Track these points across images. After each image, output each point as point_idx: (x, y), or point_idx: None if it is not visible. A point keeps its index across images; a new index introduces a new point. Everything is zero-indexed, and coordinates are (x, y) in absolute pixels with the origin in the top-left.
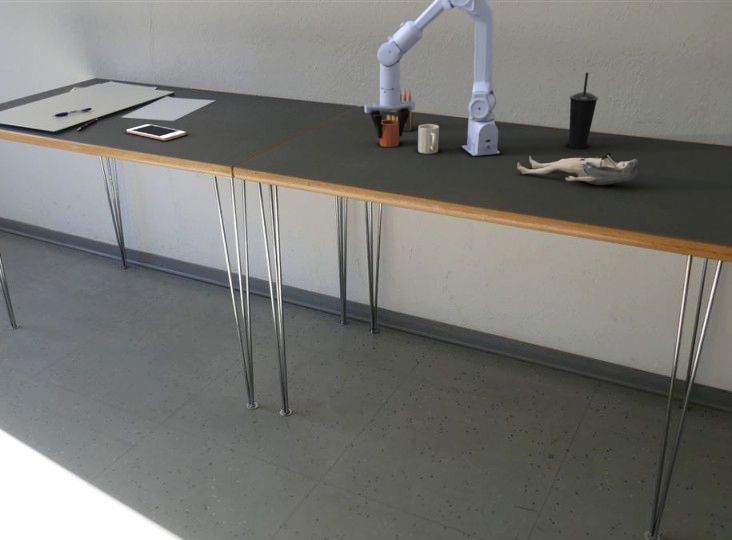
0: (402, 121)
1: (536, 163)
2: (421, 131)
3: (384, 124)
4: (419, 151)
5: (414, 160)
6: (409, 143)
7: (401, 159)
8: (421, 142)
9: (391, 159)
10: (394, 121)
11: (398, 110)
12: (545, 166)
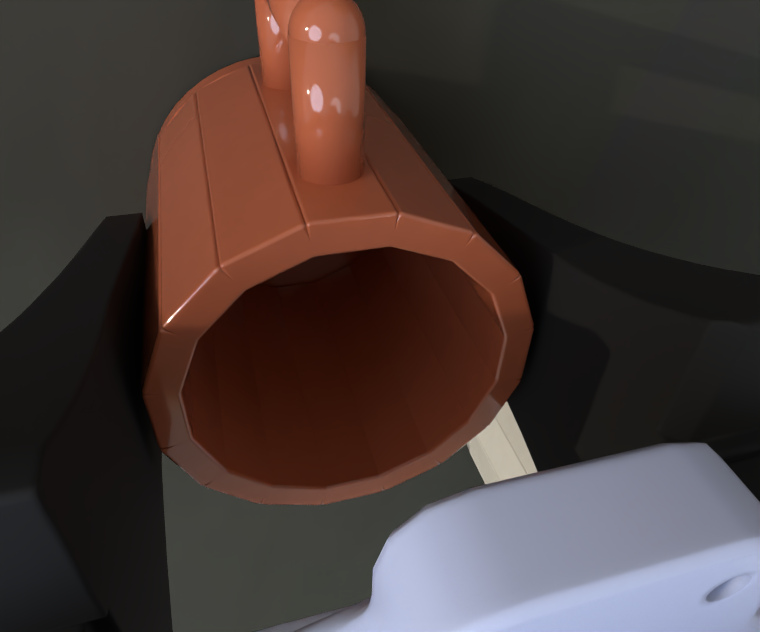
0: (540, 444)
1: None
2: None
3: (224, 492)
4: (467, 444)
5: (359, 564)
6: (518, 187)
7: (282, 557)
8: None
9: (208, 563)
10: (478, 281)
11: (693, 403)
12: None
